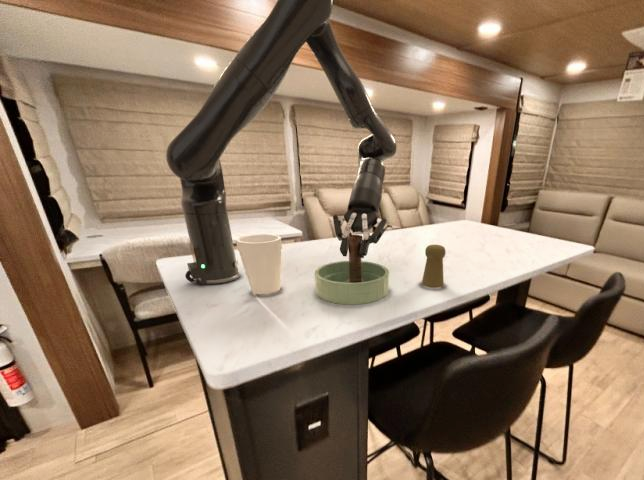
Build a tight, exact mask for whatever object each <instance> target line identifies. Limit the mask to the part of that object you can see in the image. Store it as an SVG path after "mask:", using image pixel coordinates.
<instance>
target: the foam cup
mask: <svg viewBox="0 0 644 480" xmlns="http://www.w3.org/2000/svg"><path fill="white" fill-rule="evenodd" d="M235 244H236V249H237V252H238V253H239V256H240V260H241V262H242V265H243V268H244V271H245V275H246V277H247V280H248V281H247V282H248V284H249V287H250V291H251V293H252V295H254V296H255V297H257V296H258V295H270V294H274V293H277V292H279V291H280V290H281V289H282V288H281V286H282V284H281V282H282V279H281V278H282V277H281V276H282V249H283V243H282V236H280V235H278V234H270V233H257V234H248V235H242V236H239V237H236V239H235Z"/></svg>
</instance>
